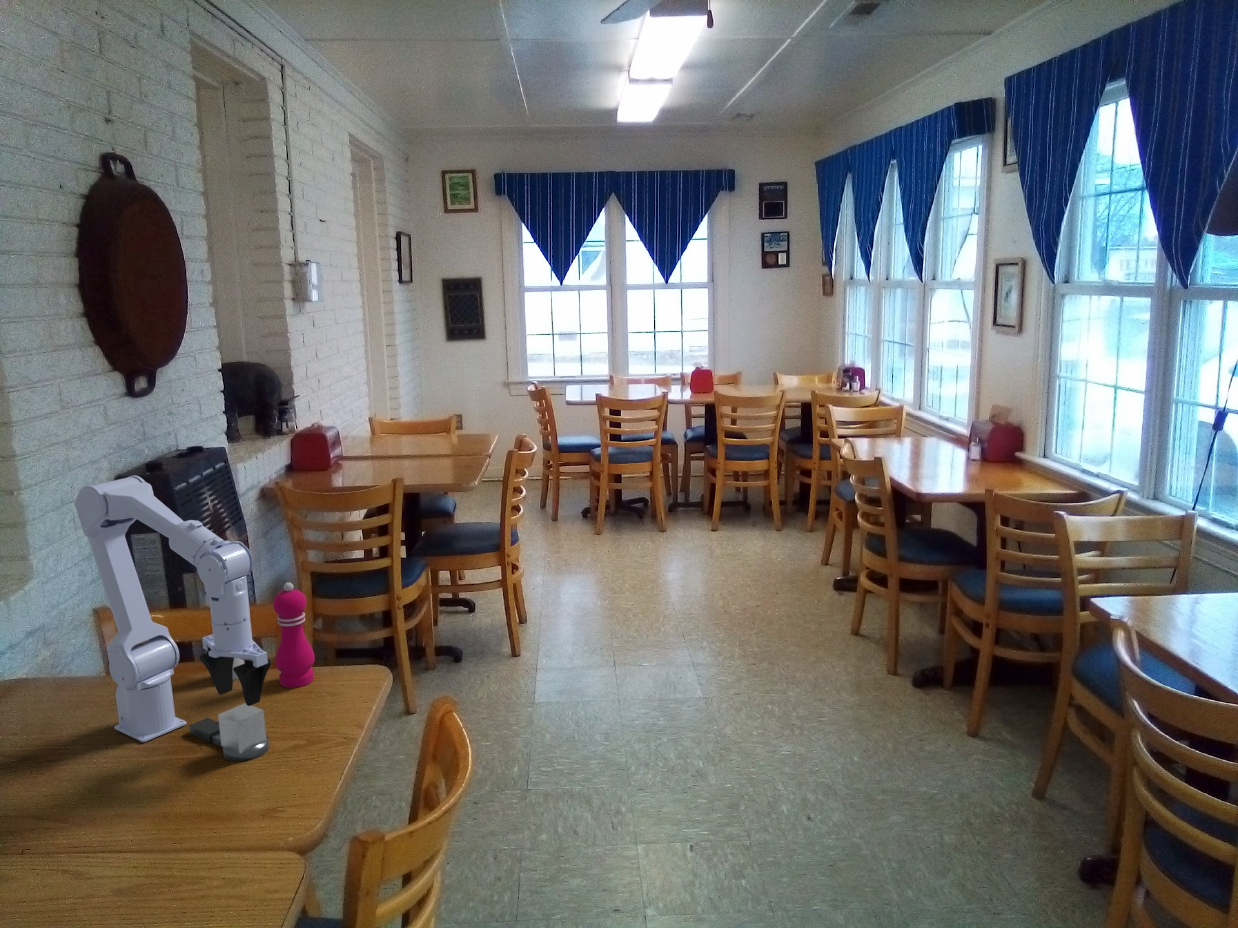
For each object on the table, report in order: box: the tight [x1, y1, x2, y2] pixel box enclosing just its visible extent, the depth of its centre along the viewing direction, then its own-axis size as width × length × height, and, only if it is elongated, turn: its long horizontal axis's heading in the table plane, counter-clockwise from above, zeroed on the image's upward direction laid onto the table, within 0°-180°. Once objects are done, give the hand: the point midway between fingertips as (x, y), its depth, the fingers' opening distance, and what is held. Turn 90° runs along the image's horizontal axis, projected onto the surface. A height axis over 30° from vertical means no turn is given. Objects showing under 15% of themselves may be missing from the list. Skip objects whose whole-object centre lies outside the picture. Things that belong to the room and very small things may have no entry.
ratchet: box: [188, 717, 270, 762], centre depth 155 cm, size 17×7×4 cm, turn 56°
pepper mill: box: [272, 582, 316, 689], centre depth 178 cm, size 7×7×20 cm
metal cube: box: [217, 702, 267, 754], centre depth 152 cm, size 5×5×6 cm
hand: (239, 697), depth 151 cm, fingers open, 7 cm apart
